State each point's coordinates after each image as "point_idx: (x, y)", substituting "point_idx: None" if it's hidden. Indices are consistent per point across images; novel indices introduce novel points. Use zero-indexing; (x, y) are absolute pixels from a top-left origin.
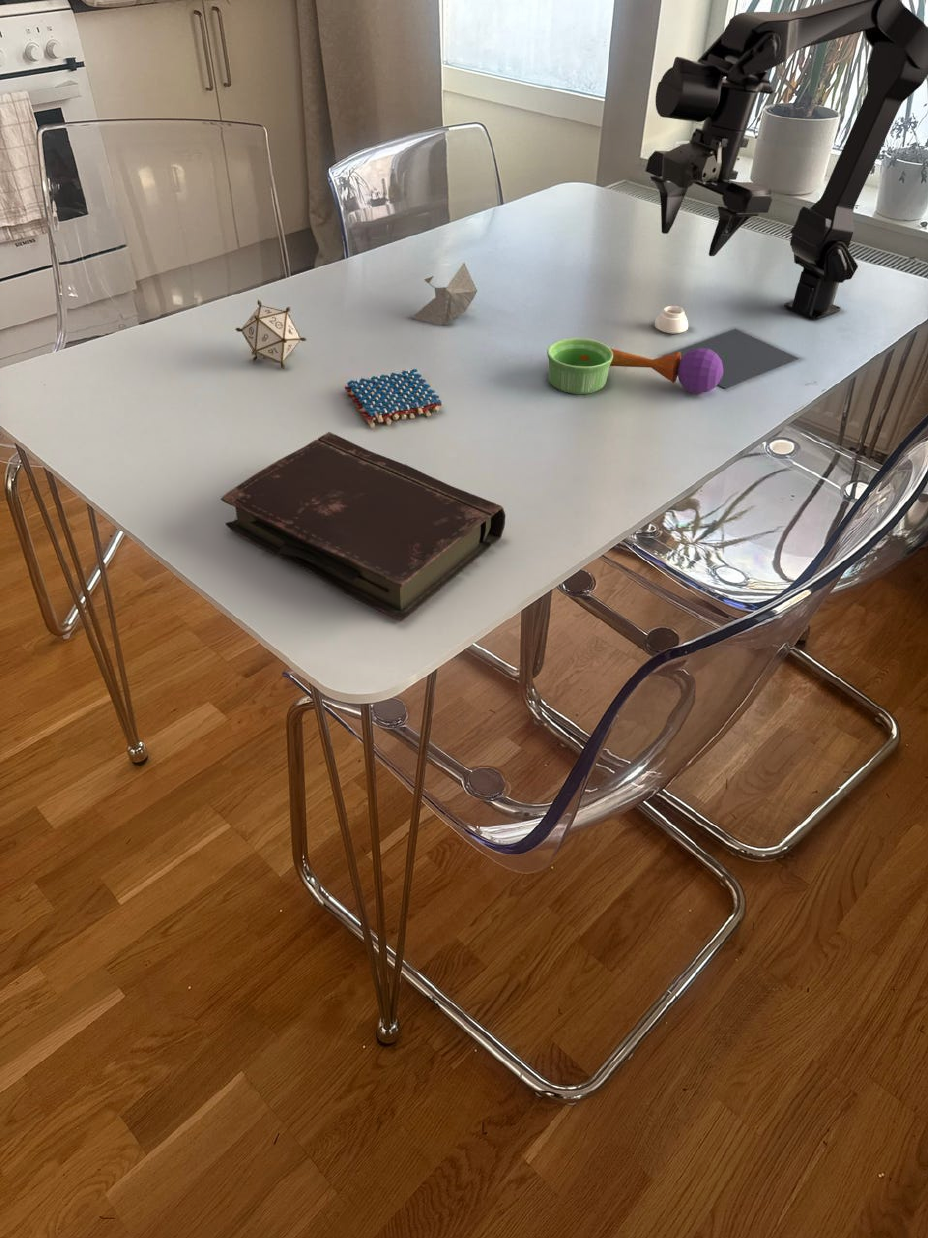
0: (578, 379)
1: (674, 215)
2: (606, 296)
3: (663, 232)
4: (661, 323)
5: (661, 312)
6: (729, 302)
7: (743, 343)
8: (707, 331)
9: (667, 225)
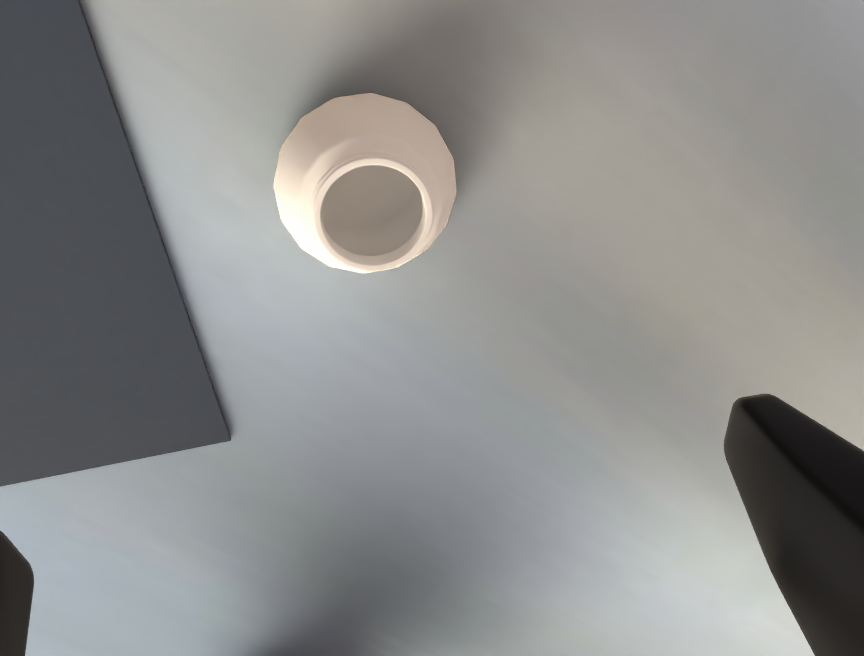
0: None
1: (832, 650)
2: (837, 105)
3: (741, 399)
4: (357, 112)
5: (428, 164)
6: (466, 539)
7: (73, 393)
8: (262, 324)
9: (775, 488)
